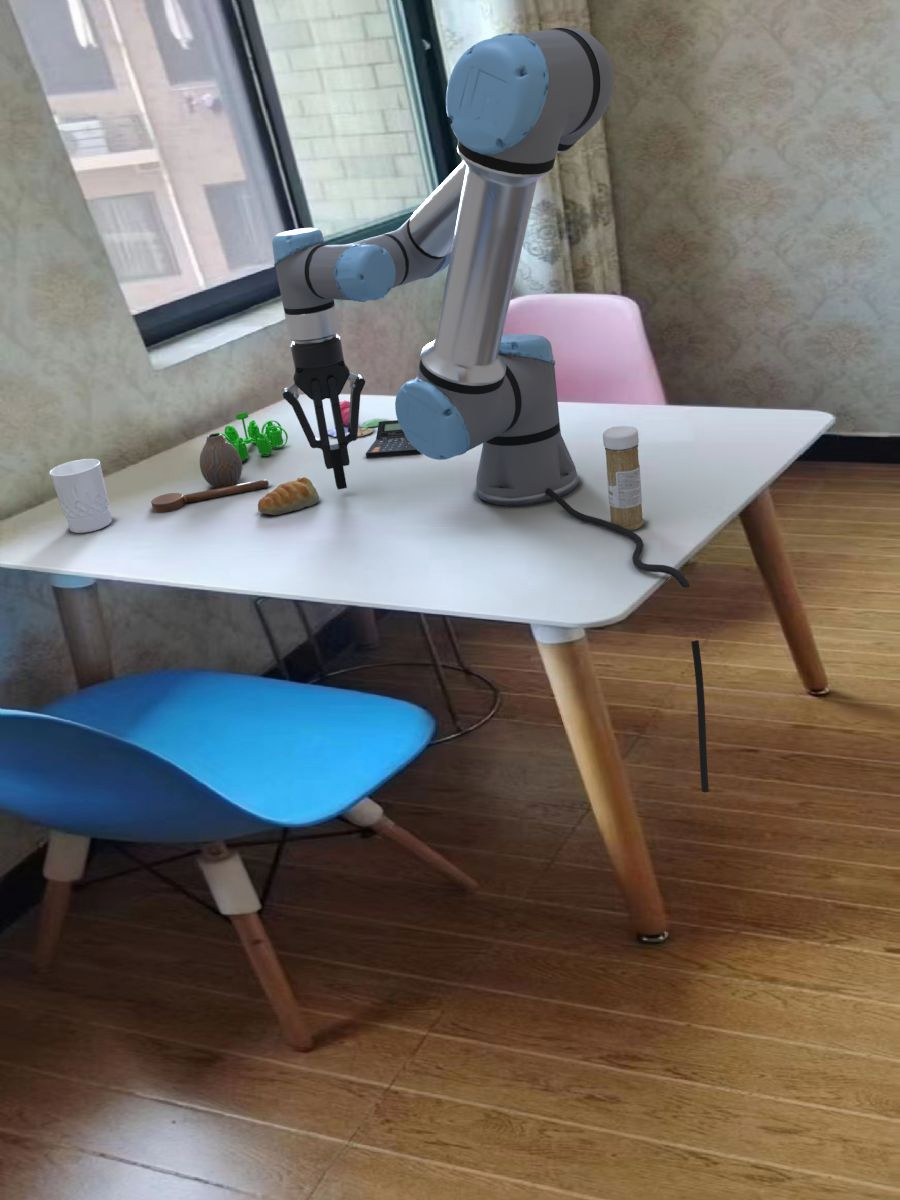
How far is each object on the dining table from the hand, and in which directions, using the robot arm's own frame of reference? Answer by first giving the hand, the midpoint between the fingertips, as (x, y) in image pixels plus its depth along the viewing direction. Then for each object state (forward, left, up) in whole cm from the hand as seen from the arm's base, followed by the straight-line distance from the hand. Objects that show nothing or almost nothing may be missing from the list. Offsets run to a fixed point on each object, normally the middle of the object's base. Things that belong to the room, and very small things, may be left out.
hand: (341, 486), depth 182 cm
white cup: (+10, +40, -2) cm, 41 cm away
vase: (+18, +18, -2) cm, 26 cm away
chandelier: (+35, +13, -2) cm, 37 cm away
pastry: (0, +8, -2) cm, 8 cm away
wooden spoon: (+12, +21, -2) cm, 24 cm away
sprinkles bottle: (-35, -35, -2) cm, 50 cm away
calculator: (+21, -13, -2) cm, 24 cm away
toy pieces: (+37, -7, -2) cm, 37 cm away
